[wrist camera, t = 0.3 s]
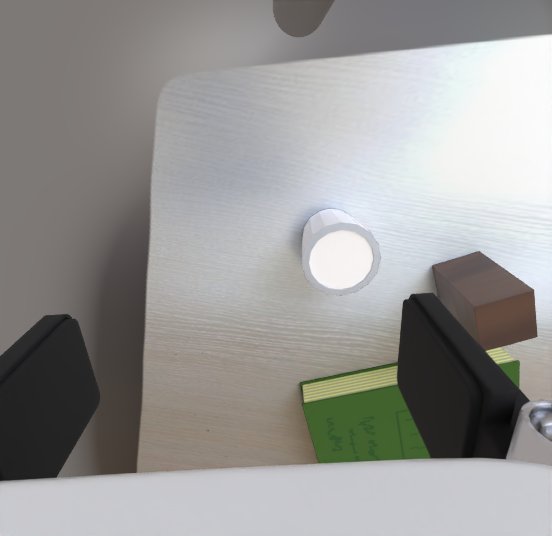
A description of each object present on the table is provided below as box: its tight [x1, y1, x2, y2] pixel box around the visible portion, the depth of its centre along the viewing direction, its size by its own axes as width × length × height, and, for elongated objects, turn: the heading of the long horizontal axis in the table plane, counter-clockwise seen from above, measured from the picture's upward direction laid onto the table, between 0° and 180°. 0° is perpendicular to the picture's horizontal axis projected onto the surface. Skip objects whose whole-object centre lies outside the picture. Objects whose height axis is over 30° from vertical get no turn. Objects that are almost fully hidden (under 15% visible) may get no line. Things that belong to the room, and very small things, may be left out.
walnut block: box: [433, 251, 537, 351], centre depth 37 cm, size 5×5×9 cm
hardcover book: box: [300, 347, 520, 464], centre depth 47 cm, size 25×19×4 cm
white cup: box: [302, 209, 381, 296], centre depth 35 cm, size 7×7×7 cm
